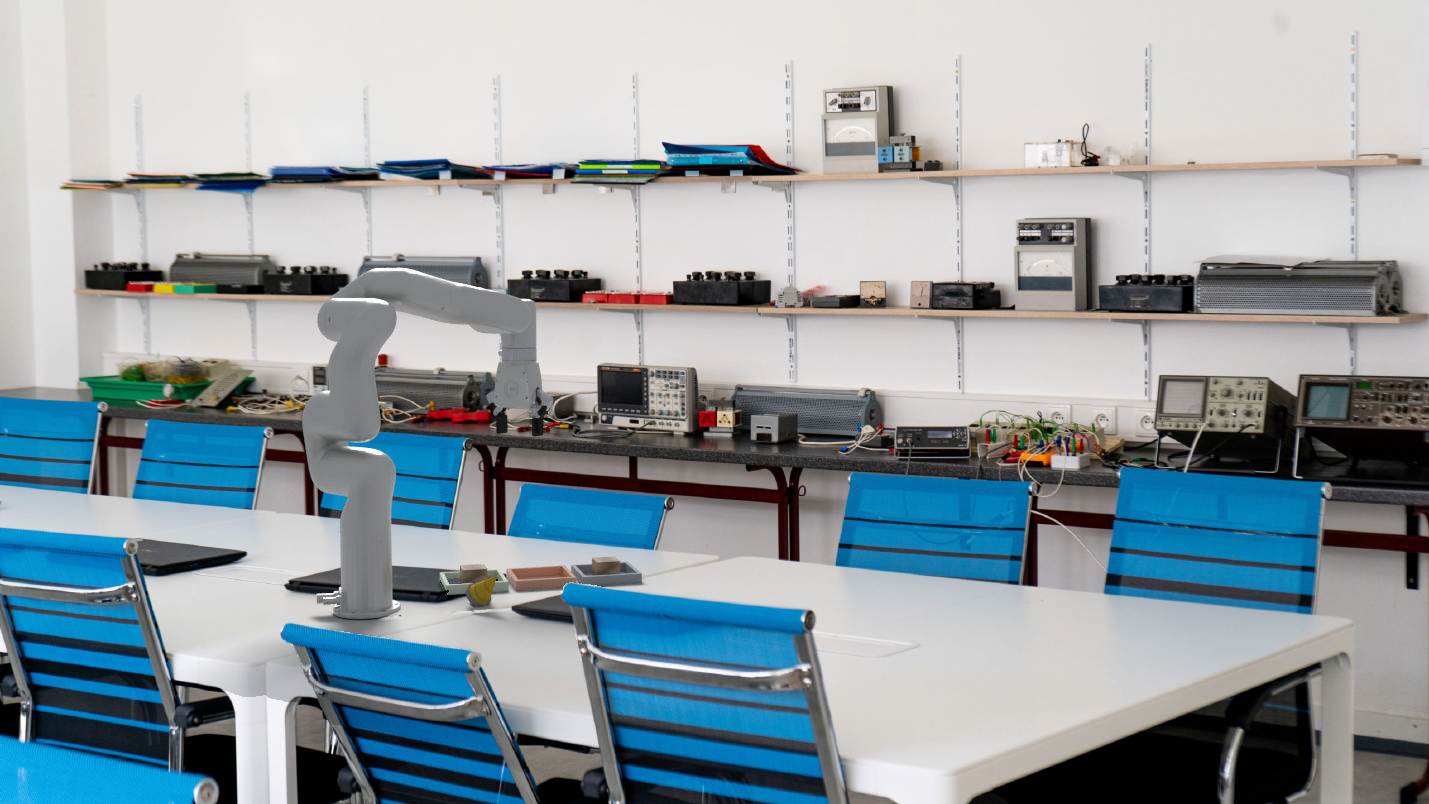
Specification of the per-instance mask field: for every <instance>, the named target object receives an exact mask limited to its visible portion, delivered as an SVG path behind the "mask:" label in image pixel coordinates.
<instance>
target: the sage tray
mask: <svg viewBox="0 0 1429 804" xmlns="http://www.w3.org/2000/svg"><path fill="white" fill-rule="evenodd" d="M496 575H498V576H497V579H498V581H495V585H494V588H493V591H492V593H499V592H501V593H502V592H509V590H510V587H509V584H510V582H509V581H508V579H507V578H506V576H505V574H504V572H503V571H502V570H501V569H500V568H498V569H497V568H496V569H495V568H494V569H487V576H496ZM453 578H460V570H458V571H444V572H443V571H442V572H439V581H440V580H441V582H442V584H443V585H444V587H445V589H446V590H447V589H448V590H449V592H448V593H447V595H446V596H451V595H452V596H453V595H454V596H455V595H466V593H465V591H466V588H467V587H468V586H469V585H470V584H472V583H464V584H449V582H448V580H447V579H453Z"/></svg>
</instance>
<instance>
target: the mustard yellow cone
mask: <svg viewBox="0 0 1429 804" xmlns="http://www.w3.org/2000/svg"><path fill="white" fill-rule="evenodd" d="M497 576H498V575H496V576H493V577H491V578H489V579H486V580H484V581H481V582H479V583H472V584H470V585H469V586H468V587H467V588H466V591H465V593H466V594H465V597H466V599H467V600H468V602H469V605H470V606H472V607H473V606H474V607H485V606H489V605H490V604H491V602H492V594H493V592H492V591H493V588H494V585H495V581H496V579H497Z"/></svg>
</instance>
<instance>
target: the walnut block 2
mask: <svg viewBox="0 0 1429 804" xmlns="http://www.w3.org/2000/svg"><path fill="white" fill-rule="evenodd" d="M620 562H621V561H620V559H619V558H617V557H616V556H602V557H601V556H600V557H592V558H591V564H592V576H595V575H612V574H620Z"/></svg>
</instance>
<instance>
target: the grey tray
mask: <svg viewBox="0 0 1429 804" xmlns="http://www.w3.org/2000/svg"><path fill="white" fill-rule="evenodd" d="M570 571H571V572H572V574H573V575H574V576H575V577H576V582H578V583H579V584H580V583H582V584H591V585H597V586H608V585H607V584H612V585H624V584H641V583H643V573H642V572H641V571H640V570H638V569H637V567H635V566H634V565H632V564H631V563H630V562H629V561H620V574H612V575H595V576H592V563H580V564H579V563H578V564H571V565H570Z"/></svg>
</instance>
